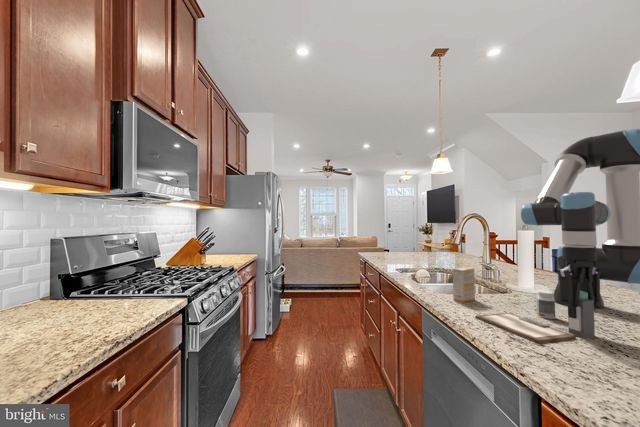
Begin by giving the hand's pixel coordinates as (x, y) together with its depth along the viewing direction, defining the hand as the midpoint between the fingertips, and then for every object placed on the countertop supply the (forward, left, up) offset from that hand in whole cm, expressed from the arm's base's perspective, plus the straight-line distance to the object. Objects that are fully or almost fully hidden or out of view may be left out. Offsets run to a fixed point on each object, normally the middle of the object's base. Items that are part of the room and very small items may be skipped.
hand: (581, 328), depth 85 cm
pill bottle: (-6, -15, -2) cm, 16 cm away
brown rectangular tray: (+11, -9, -2) cm, 15 cm away
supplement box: (+5, -41, -2) cm, 41 cm away
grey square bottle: (0, 0, -2) cm, 2 cm away
